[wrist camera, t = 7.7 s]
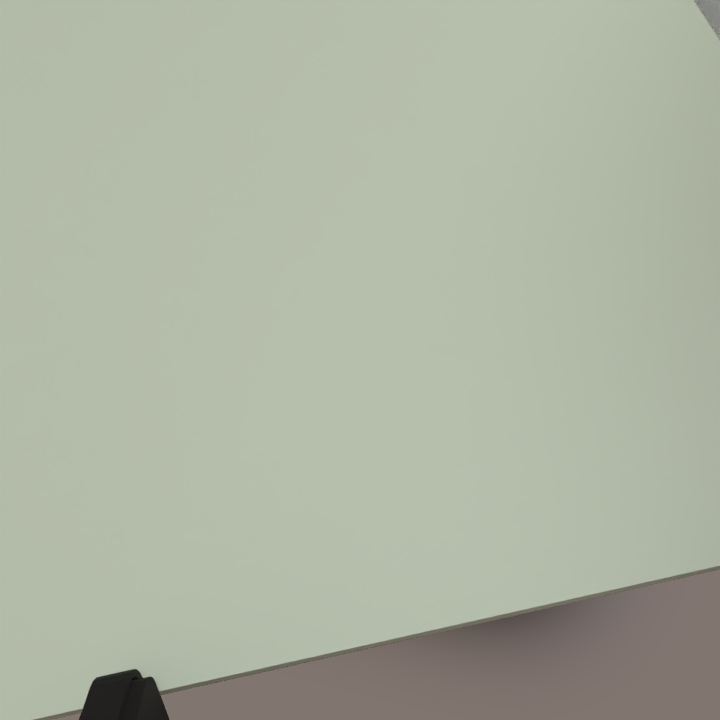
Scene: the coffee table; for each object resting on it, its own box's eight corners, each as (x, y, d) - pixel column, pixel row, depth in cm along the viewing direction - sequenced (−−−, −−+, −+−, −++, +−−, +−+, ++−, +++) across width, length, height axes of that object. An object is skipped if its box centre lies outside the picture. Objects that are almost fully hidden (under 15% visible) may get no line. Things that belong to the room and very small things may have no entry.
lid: (598, -91, 18) (608, -131, 17) (968, 513, 11) (1019, 498, 10) (-23, 18, 18) (-46, -18, 17) (-81, 749, 10) (-128, 755, 9)
